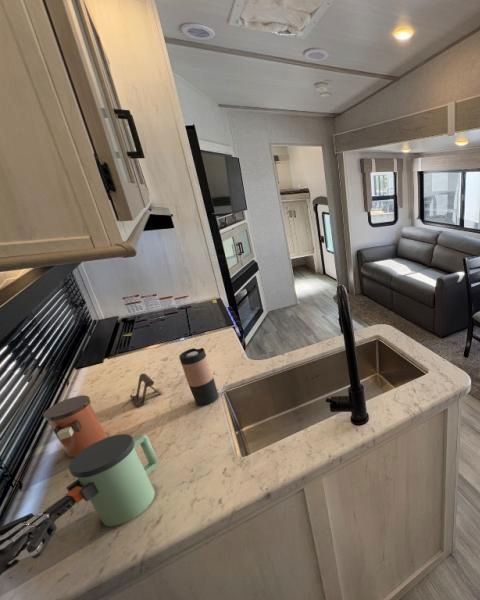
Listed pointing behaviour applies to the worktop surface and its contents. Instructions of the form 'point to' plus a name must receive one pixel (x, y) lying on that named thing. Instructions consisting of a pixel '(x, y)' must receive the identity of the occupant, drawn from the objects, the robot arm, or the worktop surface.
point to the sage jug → (115, 477)
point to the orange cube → (75, 494)
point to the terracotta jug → (76, 423)
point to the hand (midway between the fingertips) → (71, 499)
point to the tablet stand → (148, 383)
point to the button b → (65, 433)
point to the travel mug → (199, 376)
